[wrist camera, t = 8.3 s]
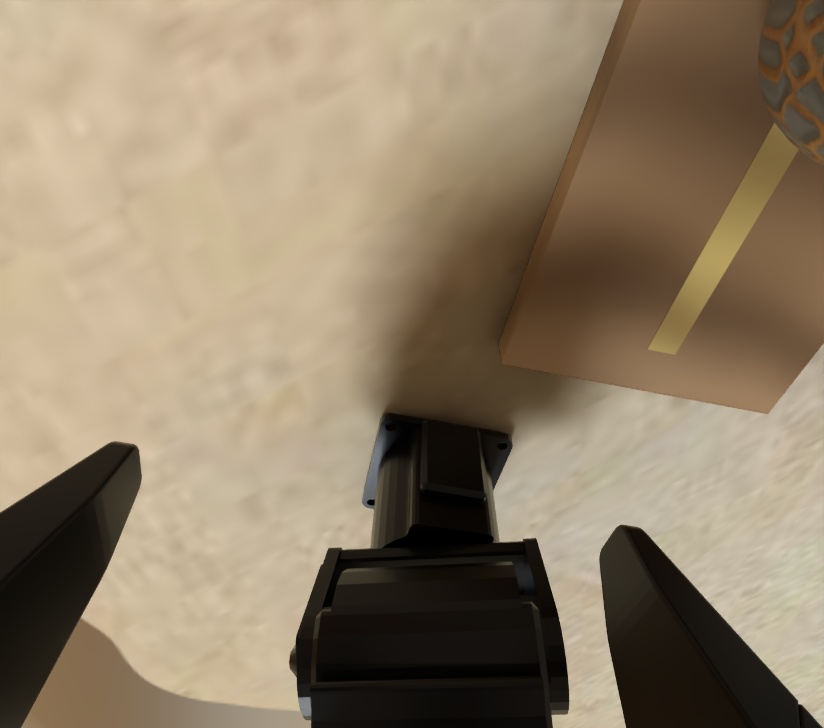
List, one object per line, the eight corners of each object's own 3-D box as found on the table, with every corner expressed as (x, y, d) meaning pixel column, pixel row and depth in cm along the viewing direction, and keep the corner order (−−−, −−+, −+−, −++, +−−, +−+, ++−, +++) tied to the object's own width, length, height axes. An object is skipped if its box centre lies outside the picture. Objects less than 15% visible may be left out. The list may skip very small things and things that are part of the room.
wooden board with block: (750, 392, 25) (839, 505, 19) (498, 344, 23) (519, 450, 18) (1210, -230, 13) (1733, -370, 8) (765, -388, 12) (1033, -680, 7)
